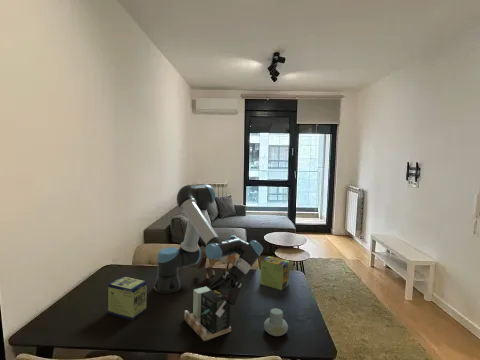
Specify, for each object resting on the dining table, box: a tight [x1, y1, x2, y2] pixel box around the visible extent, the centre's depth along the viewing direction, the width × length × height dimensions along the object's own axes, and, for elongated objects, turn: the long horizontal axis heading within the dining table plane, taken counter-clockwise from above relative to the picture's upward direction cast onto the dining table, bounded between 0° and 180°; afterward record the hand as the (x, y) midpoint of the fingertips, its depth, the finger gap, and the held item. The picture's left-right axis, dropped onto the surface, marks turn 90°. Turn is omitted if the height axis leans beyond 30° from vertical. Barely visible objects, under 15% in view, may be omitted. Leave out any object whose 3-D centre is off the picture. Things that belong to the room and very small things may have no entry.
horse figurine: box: [196, 254, 237, 279], centre depth 199 cm, size 31×8×21 cm, turn 102°
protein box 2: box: [259, 256, 291, 291], centre depth 189 cm, size 10×15×16 cm
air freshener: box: [263, 307, 289, 337], centre depth 138 cm, size 11×8×10 cm
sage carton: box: [192, 286, 210, 318], centre depth 148 cm, size 5×7×12 cm
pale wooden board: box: [184, 309, 232, 342], centre depth 142 cm, size 20×14×4 cm
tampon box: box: [200, 289, 231, 334], centre depth 137 cm, size 11×9×15 cm
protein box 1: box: [107, 276, 148, 321], centre depth 151 cm, size 10×16×16 cm
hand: (210, 309), depth 136 cm, fingers open, 12 cm apart
